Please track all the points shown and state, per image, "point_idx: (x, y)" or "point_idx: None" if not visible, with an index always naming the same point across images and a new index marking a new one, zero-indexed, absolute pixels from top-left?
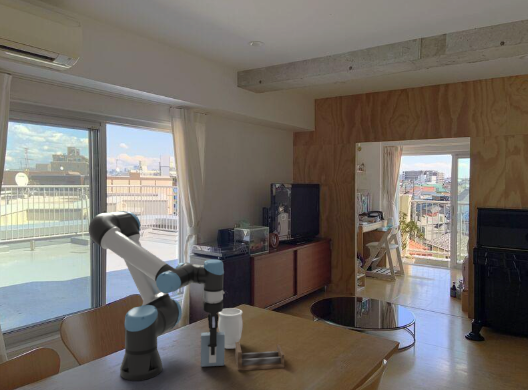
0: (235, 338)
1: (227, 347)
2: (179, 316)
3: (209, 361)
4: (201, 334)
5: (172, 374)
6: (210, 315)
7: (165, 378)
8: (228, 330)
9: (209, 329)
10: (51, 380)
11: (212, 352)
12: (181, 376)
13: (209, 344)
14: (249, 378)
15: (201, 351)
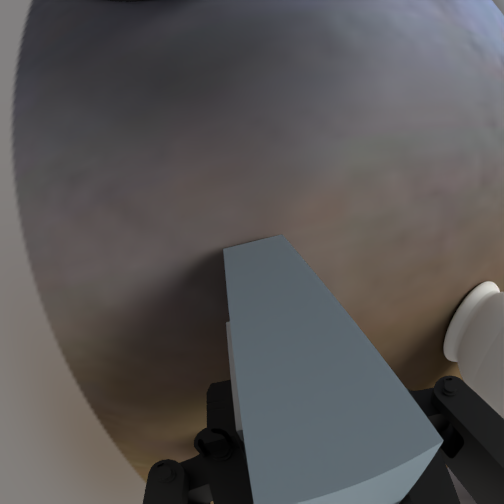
0: (466, 382)
1: (452, 326)
2: None
3: (227, 330)
4: (335, 494)
5: (123, 74)
6: None
7: (76, 59)
8: (499, 388)
9: (484, 448)
10: None
11: (212, 411)
12: (99, 143)
13: (218, 457)
14: (167, 452)
15: (231, 314)
